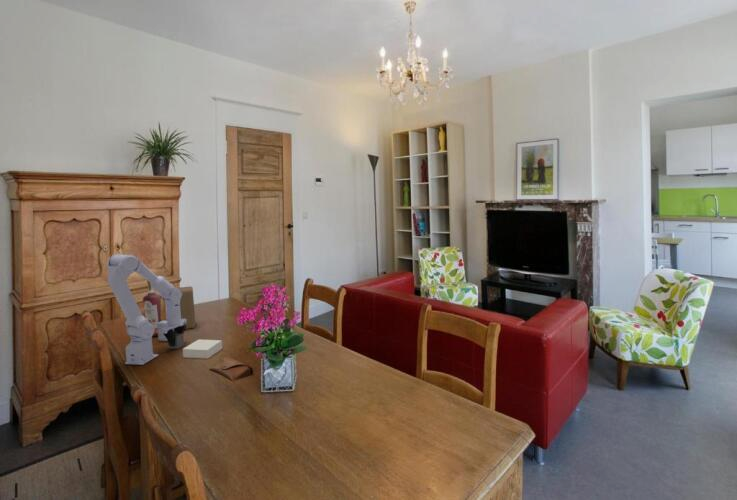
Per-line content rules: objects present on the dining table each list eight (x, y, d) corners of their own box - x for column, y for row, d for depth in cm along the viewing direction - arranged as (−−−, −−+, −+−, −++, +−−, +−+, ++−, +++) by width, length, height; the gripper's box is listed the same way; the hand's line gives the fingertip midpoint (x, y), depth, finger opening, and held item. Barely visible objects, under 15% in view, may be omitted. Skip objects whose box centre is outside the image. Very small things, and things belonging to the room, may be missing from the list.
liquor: (167, 332, 191) (162, 276, 187) (157, 338, 184) (152, 279, 180) (153, 332, 192) (147, 276, 188) (143, 337, 184) (137, 279, 181)
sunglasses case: (206, 369, 148) (213, 352, 150) (220, 372, 153) (227, 355, 155) (233, 382, 137) (241, 363, 139) (248, 385, 142) (255, 367, 144)
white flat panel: (208, 359, 158) (207, 350, 158) (183, 358, 160) (182, 348, 160) (222, 349, 169) (221, 340, 169) (199, 348, 171) (198, 339, 170)
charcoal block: (177, 349, 169) (176, 336, 169) (168, 348, 170) (167, 336, 169) (184, 345, 174) (183, 333, 173) (174, 344, 174) (173, 333, 174)
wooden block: (174, 325, 202) (171, 287, 199) (195, 322, 206) (192, 285, 203) (173, 331, 193) (170, 292, 190) (195, 328, 197) (192, 289, 194)
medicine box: (180, 338, 183) (178, 320, 182) (174, 341, 178) (172, 323, 177) (164, 337, 184) (162, 320, 183) (158, 341, 179) (156, 323, 178)
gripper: (171, 319, 162) (173, 350, 164) (191, 309, 176) (193, 338, 178) (155, 318, 163) (158, 349, 165) (177, 309, 178) (179, 337, 179)
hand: (175, 343), depth 172 cm, fingers closed on charcoal block, 4 cm apart
